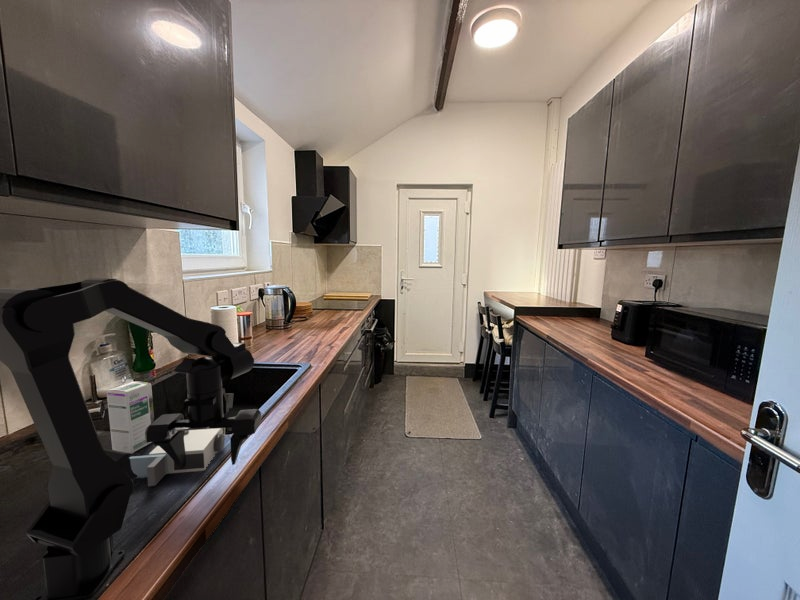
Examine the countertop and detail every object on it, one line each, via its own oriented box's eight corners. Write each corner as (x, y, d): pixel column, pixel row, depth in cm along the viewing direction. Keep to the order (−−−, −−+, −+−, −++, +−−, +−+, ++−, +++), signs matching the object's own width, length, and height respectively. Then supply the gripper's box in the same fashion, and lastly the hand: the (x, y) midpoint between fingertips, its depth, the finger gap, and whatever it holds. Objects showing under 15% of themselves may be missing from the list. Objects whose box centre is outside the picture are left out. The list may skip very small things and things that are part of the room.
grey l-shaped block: (155, 486, 59) (153, 466, 59) (116, 490, 58) (115, 469, 58) (167, 472, 64) (166, 454, 63) (131, 475, 62) (130, 456, 62)
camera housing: (209, 470, 65) (208, 447, 65) (150, 475, 63) (148, 452, 63) (227, 443, 75) (227, 423, 74) (176, 447, 73) (175, 427, 73)
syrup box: (131, 454, 70) (127, 391, 69) (110, 450, 71) (105, 389, 70) (156, 440, 76) (152, 382, 74) (136, 437, 77) (132, 380, 75)
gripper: (266, 373, 70) (268, 439, 72) (173, 376, 67) (177, 446, 68) (252, 392, 59) (255, 471, 61) (140, 398, 56) (146, 480, 57)
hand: (209, 465), depth 62 cm, fingers open, 9 cm apart
